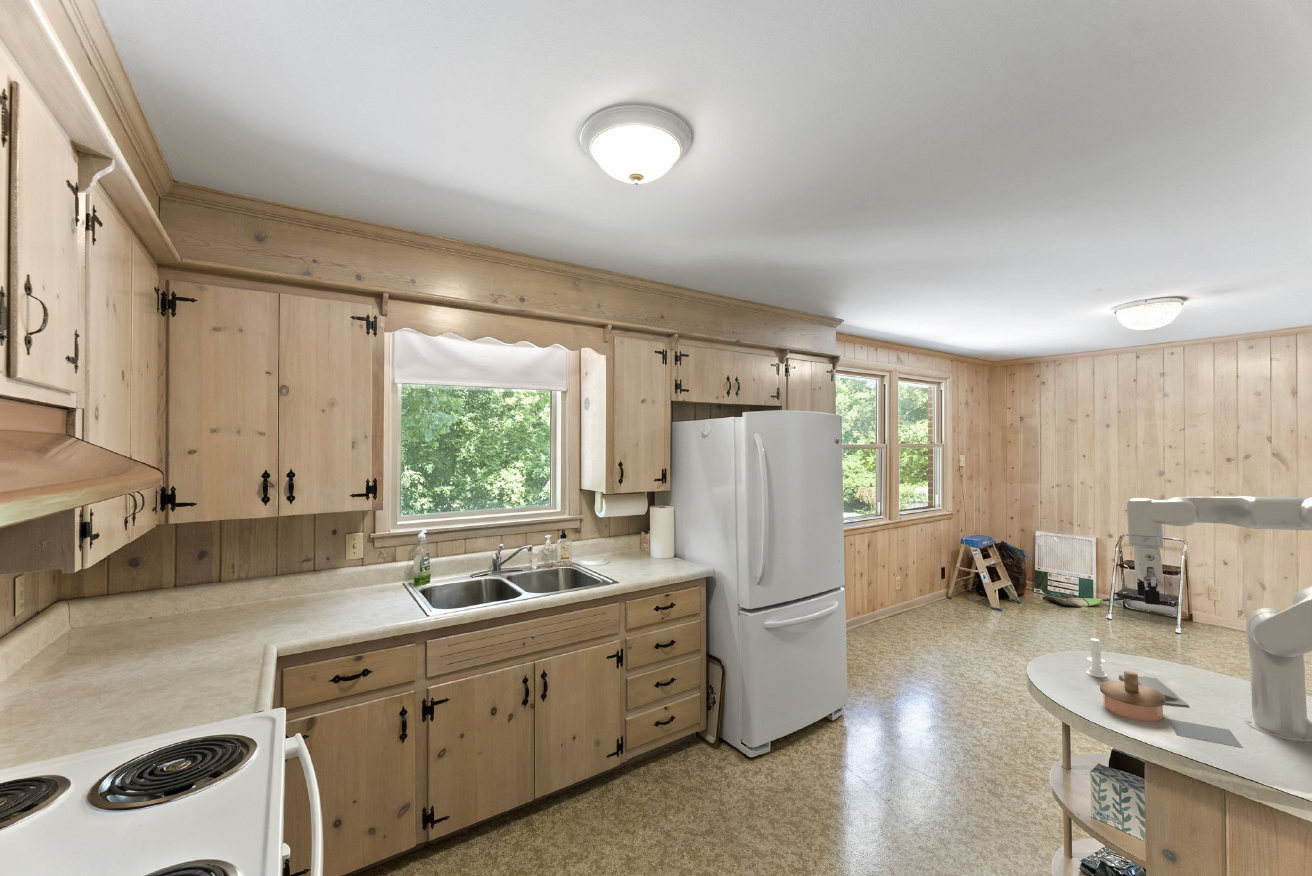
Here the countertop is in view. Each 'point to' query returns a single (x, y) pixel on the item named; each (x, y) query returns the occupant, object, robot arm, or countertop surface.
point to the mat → (1204, 733)
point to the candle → (1096, 659)
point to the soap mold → (1160, 690)
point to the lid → (1132, 692)
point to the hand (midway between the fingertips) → (1148, 599)
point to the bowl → (1133, 710)
